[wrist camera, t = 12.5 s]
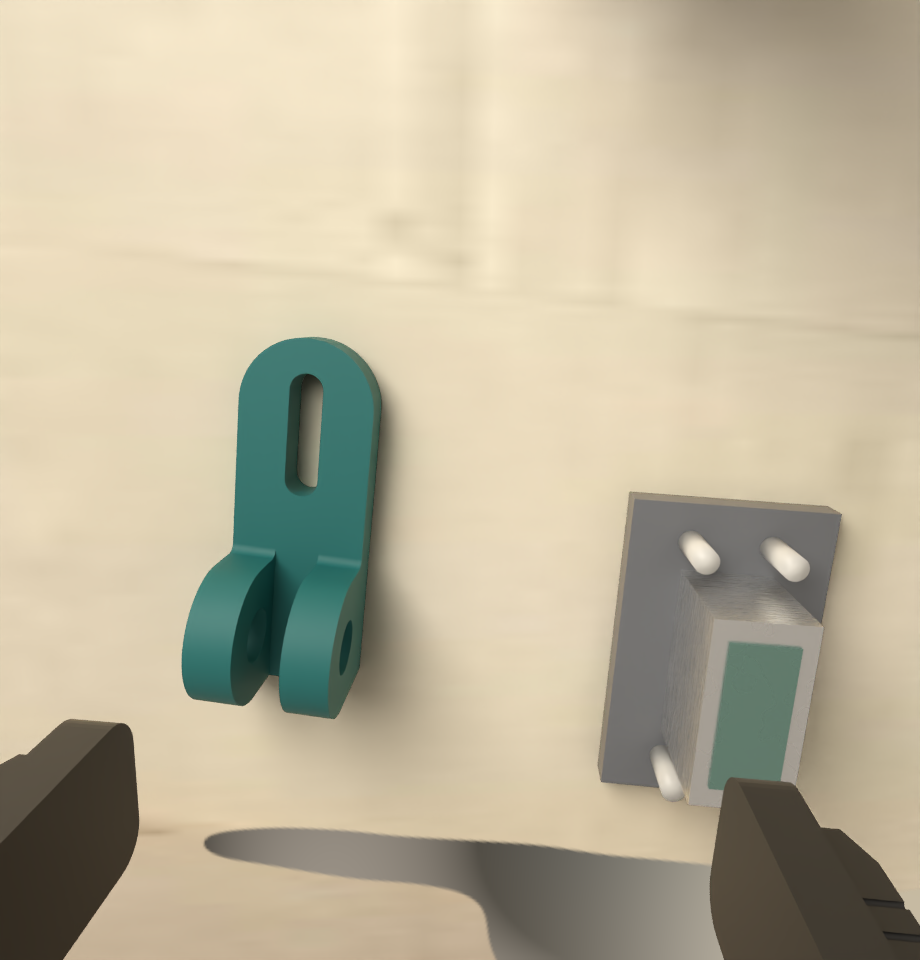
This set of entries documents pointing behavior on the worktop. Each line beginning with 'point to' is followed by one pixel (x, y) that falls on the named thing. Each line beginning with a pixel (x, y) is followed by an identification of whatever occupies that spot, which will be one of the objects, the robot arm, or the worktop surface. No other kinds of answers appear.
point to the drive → (737, 682)
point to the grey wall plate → (653, 598)
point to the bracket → (292, 539)
